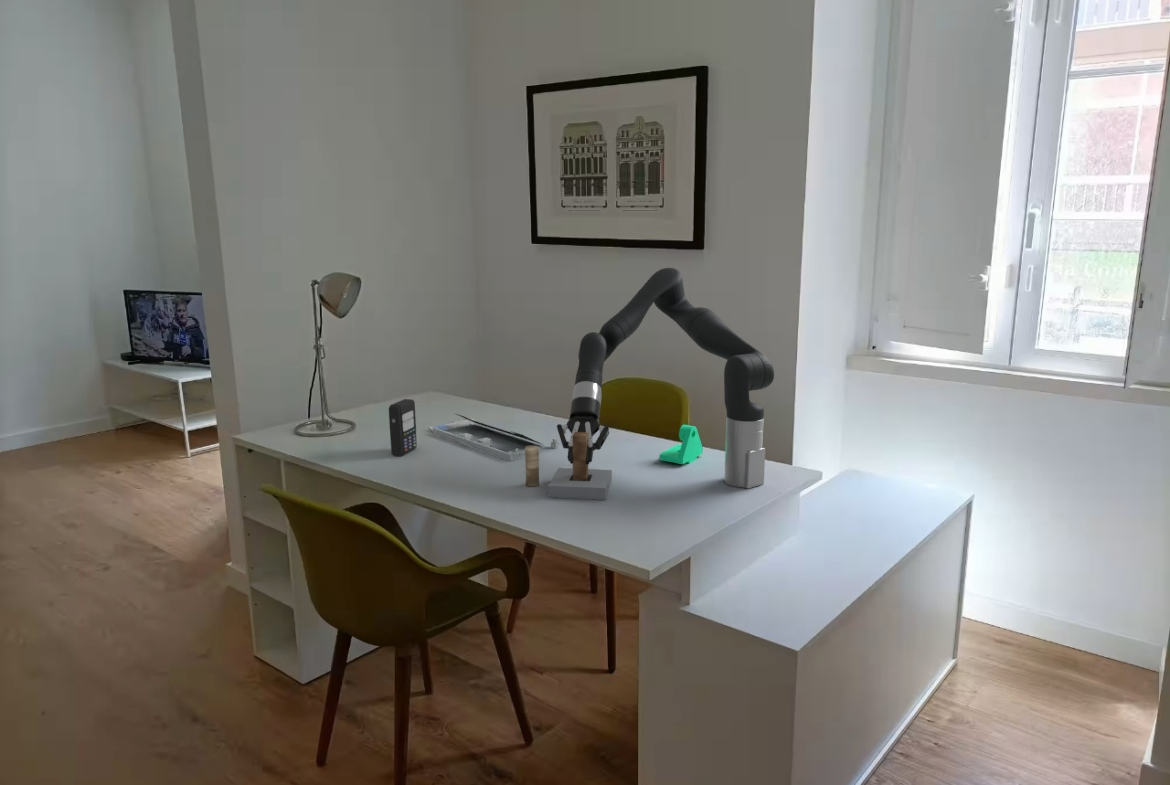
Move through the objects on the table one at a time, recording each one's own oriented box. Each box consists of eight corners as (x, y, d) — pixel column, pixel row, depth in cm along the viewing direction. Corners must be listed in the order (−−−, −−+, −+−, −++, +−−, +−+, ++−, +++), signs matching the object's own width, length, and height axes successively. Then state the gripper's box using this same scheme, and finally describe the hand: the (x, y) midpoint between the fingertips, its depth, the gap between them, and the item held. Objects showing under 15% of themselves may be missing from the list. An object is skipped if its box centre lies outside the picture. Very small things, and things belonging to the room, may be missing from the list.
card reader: (402, 457, 235) (399, 406, 231) (389, 456, 236) (386, 405, 233) (418, 448, 243) (416, 399, 240) (406, 447, 244) (404, 398, 241)
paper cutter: (510, 463, 231) (510, 444, 230) (423, 431, 263) (422, 414, 261) (559, 449, 243) (559, 431, 242) (470, 421, 275) (469, 405, 273)
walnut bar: (588, 478, 210) (588, 432, 207) (586, 482, 206) (586, 436, 204) (575, 477, 210) (574, 431, 207) (573, 481, 207) (572, 435, 204)
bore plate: (611, 481, 214) (611, 469, 214) (605, 499, 201) (605, 488, 200) (558, 478, 216) (558, 467, 216) (548, 497, 203) (548, 485, 202)
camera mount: (678, 452, 239) (679, 418, 237) (702, 457, 235) (703, 421, 232) (658, 463, 229) (658, 427, 227) (682, 468, 225) (683, 431, 223)
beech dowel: (541, 485, 211) (541, 447, 209) (530, 488, 209) (529, 450, 207) (534, 481, 214) (533, 444, 212) (523, 484, 212) (522, 446, 210)
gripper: (614, 411, 216) (608, 470, 207) (561, 409, 218) (553, 468, 209) (612, 396, 210) (606, 456, 201) (557, 394, 212) (549, 454, 203)
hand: (579, 462), depth 205 cm, fingers closed on walnut bar, 3 cm apart
